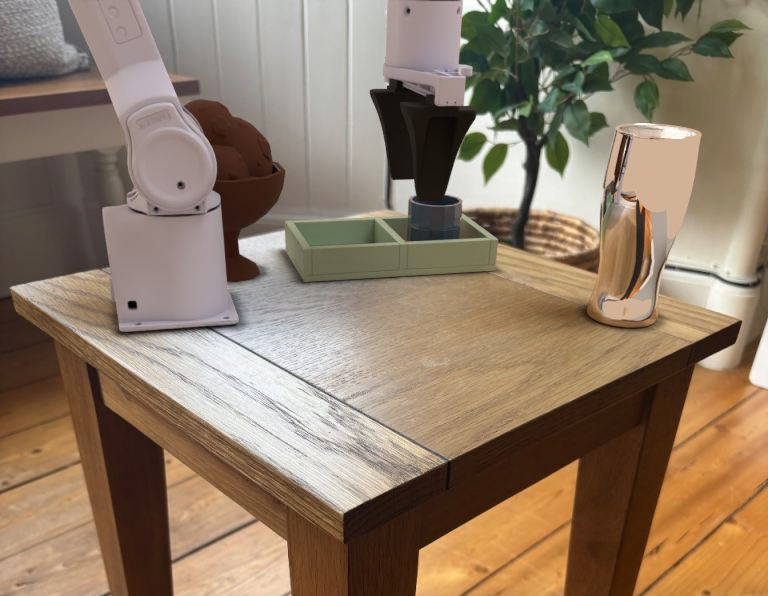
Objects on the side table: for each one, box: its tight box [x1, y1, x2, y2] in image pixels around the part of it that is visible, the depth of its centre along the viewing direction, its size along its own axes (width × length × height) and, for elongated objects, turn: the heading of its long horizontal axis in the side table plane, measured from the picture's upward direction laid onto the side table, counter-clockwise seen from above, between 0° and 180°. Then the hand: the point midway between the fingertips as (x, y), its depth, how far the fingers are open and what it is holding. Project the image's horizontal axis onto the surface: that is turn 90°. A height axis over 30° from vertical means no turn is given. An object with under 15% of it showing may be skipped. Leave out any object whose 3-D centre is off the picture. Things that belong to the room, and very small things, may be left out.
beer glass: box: [586, 122, 703, 329], centre depth 67 cm, size 7×7×15 cm
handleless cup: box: [407, 194, 463, 242], centre depth 82 cm, size 5×5×5 cm
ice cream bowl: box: [183, 98, 286, 283], centre depth 74 cm, size 11×11×15 cm
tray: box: [284, 212, 499, 283], centre depth 82 cm, size 19×10×3 cm, turn 106°
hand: (416, 189), depth 69 cm, fingers open, 7 cm apart
